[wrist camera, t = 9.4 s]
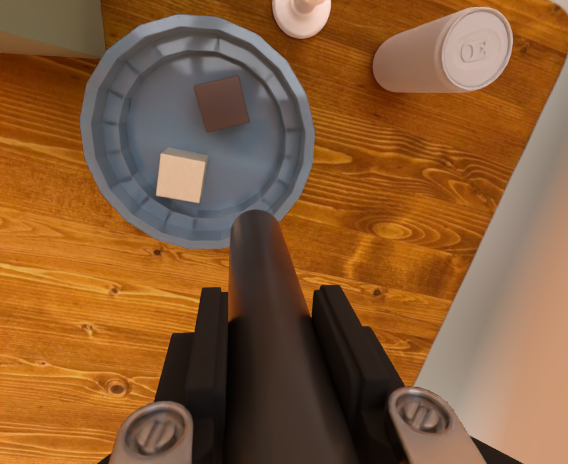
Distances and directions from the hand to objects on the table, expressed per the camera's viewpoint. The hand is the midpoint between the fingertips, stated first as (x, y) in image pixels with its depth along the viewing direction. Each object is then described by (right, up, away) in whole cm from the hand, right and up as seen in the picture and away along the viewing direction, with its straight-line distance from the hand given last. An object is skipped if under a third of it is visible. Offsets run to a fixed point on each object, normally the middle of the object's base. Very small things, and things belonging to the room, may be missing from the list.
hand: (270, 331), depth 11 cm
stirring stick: (-1, +3, +8) cm, 9 cm away
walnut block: (-5, +14, +21) cm, 26 cm away
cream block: (-9, +9, +23) cm, 26 cm away
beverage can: (+11, +18, +22) cm, 31 cm away
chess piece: (+2, +22, +20) cm, 30 cm away
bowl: (-7, +12, +22) cm, 26 cm away
